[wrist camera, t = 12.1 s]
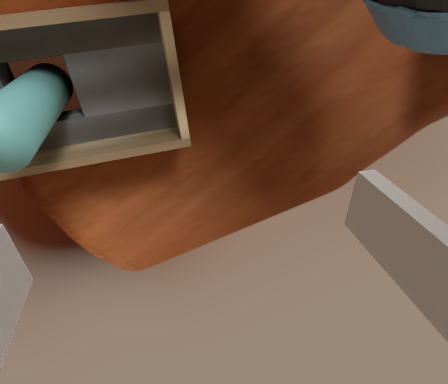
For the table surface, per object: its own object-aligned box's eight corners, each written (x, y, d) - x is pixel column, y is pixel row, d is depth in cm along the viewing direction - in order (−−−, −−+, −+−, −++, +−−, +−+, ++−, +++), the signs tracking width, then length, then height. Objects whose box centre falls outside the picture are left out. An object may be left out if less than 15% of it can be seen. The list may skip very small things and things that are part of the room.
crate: (-140, 30, 24) (-217, 40, 19) (161, -3, 28) (167, -2, 23) (-51, 162, 31) (-90, 197, 26) (182, 122, 35) (191, 146, 29)
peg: (18, 66, 28) (-63, 116, 17) (64, 60, 29) (15, 104, 17) (37, 108, 30) (-23, 178, 19) (79, 102, 31) (45, 166, 19)
